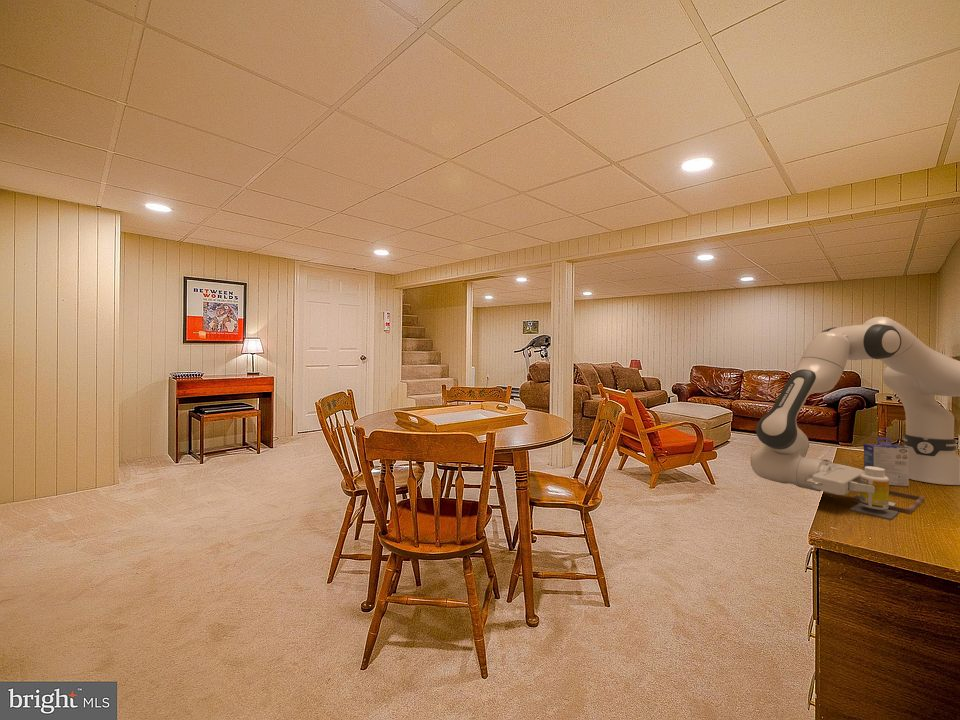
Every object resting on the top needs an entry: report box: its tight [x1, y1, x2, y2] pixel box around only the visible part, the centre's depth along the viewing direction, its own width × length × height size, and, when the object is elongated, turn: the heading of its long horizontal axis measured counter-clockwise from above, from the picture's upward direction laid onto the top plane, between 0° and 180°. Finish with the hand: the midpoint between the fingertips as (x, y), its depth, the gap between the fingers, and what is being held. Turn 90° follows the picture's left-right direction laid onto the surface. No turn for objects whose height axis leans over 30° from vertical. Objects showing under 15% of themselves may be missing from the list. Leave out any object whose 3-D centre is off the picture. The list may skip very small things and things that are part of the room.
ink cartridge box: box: [863, 436, 910, 487], centre depth 138 cm, size 10×6×14 cm, turn 78°
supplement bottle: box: [859, 466, 890, 510], centre depth 113 cm, size 6×6×10 cm
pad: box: [849, 502, 900, 521], centre depth 113 cm, size 8×8×1 cm
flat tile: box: [889, 501, 897, 506], centre depth 119 cm, size 4×4×1 cm
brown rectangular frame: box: [852, 489, 925, 515], centre depth 122 cm, size 18×12×1 cm, turn 126°
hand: (879, 487), depth 112 cm, fingers closed on supplement bottle, 5 cm apart
